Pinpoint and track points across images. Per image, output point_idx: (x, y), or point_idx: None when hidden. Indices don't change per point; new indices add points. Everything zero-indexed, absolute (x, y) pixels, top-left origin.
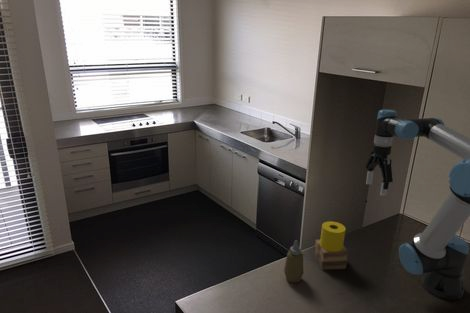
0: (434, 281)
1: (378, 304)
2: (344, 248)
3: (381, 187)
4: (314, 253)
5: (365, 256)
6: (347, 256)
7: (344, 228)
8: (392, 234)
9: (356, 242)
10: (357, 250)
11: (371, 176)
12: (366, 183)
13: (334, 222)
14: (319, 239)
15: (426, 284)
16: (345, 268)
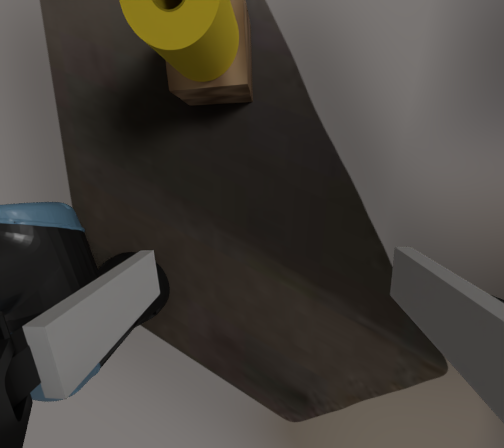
0: (101, 269)
1: (71, 133)
2: (187, 84)
3: (105, 281)
4: (249, 21)
5: (243, 180)
6: (176, 95)
7: (159, 43)
8: (345, 298)
9: (313, 184)
10: (272, 170)
11: (442, 331)
12: (403, 248)
13: (210, 5)
14: (242, 2)
15: (120, 256)
16: (189, 104)
